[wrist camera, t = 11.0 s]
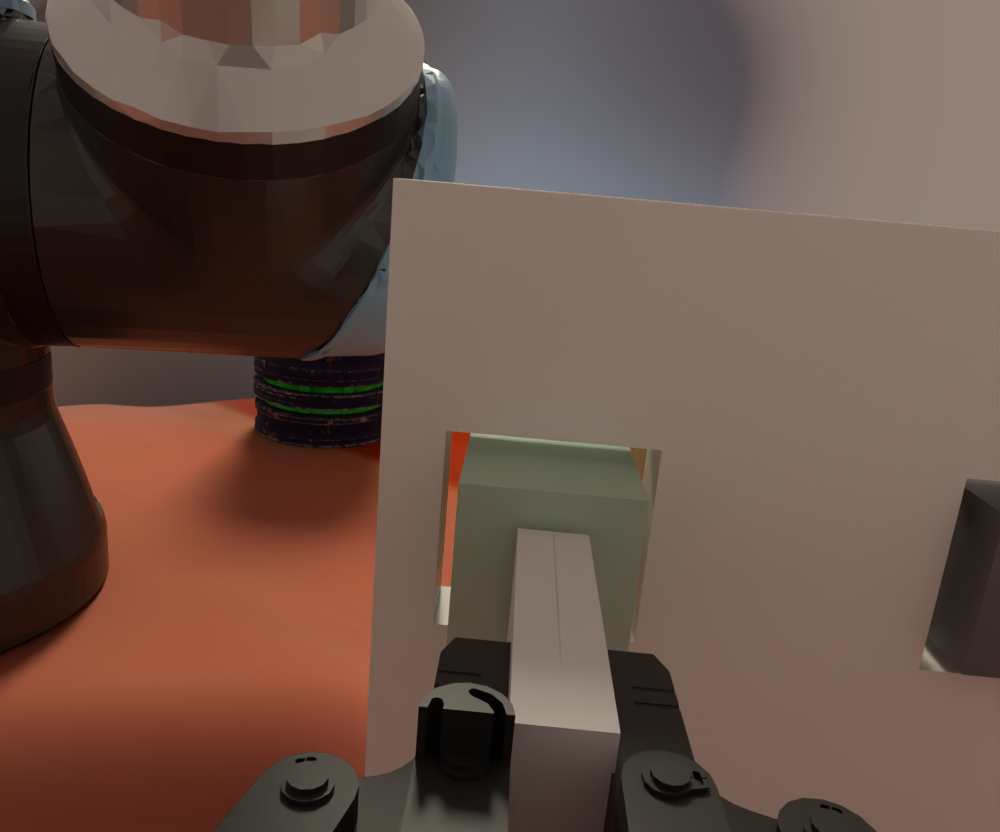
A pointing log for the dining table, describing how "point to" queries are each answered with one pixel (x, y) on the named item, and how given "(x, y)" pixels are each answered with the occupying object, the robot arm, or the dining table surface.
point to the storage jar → (320, 400)
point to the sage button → (544, 526)
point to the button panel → (717, 468)
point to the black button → (972, 585)
